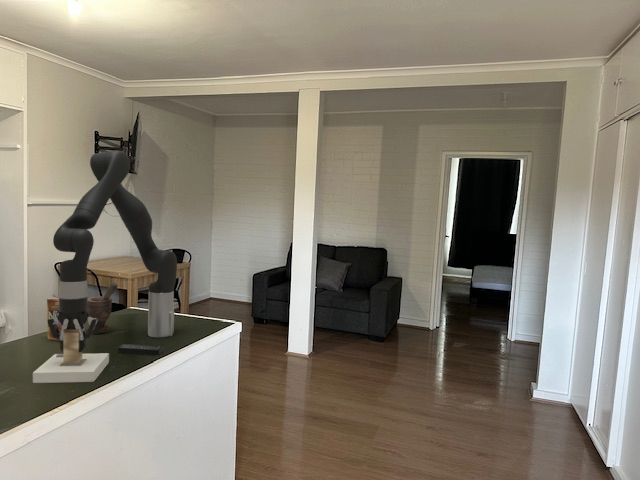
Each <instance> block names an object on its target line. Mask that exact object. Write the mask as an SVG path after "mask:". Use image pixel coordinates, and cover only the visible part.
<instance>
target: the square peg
mask: <svg viewBox="0 0 640 480" xmlns="http://www.w3.org/2000/svg"><path fill="white" fill-rule="evenodd" d="M81 328H82V327H81ZM79 340H80V339H79V329H64V341H63V352H62V354H63V363H78V362H79V361H80V360H81V359H82V354H83V352H79Z"/></svg>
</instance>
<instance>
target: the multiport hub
mask: <svg viewBox="0 0 640 480" xmlns="http://www.w3.org/2000/svg"><path fill="white" fill-rule="evenodd" d="M162 352H163V353H164V346H163V345H150V344H149V345H147V344H134V343H133V344H131V343H123V344H121V345H119V346H118V347H117V354H125V355H142V356H143V355H144V354H146V355H144V356H156V355H159V354H160V355H162V354H163V353H162ZM160 355H159V356H160Z"/></svg>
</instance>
